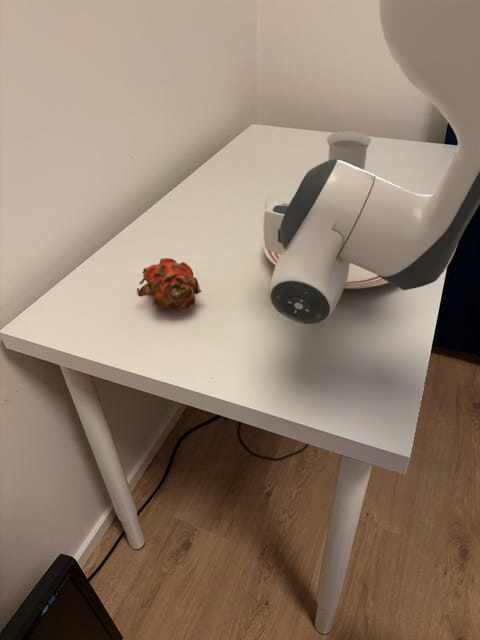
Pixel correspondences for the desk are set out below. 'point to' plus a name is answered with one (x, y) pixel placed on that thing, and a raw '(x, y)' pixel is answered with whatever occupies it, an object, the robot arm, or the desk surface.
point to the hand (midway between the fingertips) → (340, 194)
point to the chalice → (349, 147)
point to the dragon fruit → (170, 285)
